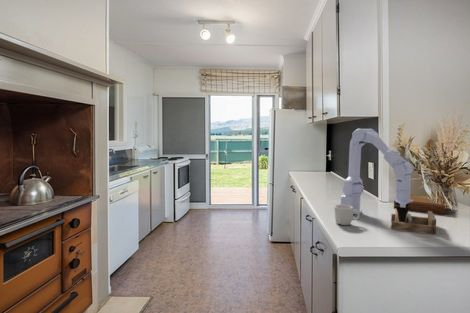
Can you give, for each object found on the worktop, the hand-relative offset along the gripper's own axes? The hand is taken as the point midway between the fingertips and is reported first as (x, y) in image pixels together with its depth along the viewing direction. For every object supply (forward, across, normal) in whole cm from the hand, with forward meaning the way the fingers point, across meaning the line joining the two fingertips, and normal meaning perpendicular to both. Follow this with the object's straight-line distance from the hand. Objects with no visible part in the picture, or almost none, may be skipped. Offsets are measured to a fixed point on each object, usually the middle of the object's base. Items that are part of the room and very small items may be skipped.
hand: (401, 219), depth 133 cm
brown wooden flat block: (+3, +40, -10) cm, 41 cm away
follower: (+2, 0, -3) cm, 4 cm away
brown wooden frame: (+2, 0, -4) cm, 5 cm away
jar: (+2, 0, 0) cm, 2 cm away
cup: (+3, -9, +22) cm, 24 cm away
